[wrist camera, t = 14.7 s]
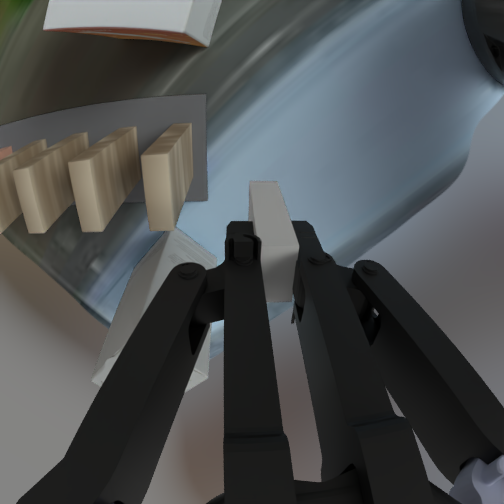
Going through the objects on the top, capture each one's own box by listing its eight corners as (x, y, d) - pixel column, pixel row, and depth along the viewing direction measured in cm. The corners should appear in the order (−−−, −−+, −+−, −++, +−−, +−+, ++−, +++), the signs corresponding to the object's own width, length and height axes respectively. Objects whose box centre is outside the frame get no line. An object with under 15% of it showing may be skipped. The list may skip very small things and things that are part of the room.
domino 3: (136, 126, 25) (89, 159, 16) (141, 177, 28) (102, 231, 19) (120, 127, 25) (67, 162, 16) (125, 178, 27) (82, 232, 19)
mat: (206, 93, 24) (205, 94, 24) (207, 198, 30) (207, 201, 29) (-11, 129, 23) (-14, 130, 22) (6, 208, 28) (4, 210, 28)
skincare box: (174, 298, 37) (153, 415, 24) (129, 267, 34) (85, 381, 21) (220, 255, 34) (213, 382, 21) (171, 218, 31) (131, 338, 18)
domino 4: (191, 122, 25) (167, 154, 17) (193, 176, 28) (173, 230, 19) (173, 123, 25) (140, 155, 17) (176, 176, 28) (149, 231, 19)
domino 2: (87, 131, 25) (28, 168, 16) (94, 180, 27) (44, 232, 19) (73, 133, 24) (12, 170, 16) (80, 182, 27) (29, 233, 19)
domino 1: (45, 138, 24) (-17, 176, 16) (54, 184, 27) (0, 234, 19) (34, 140, 24) (-29, 179, 16) (42, 185, 27) (-12, 235, 19)
